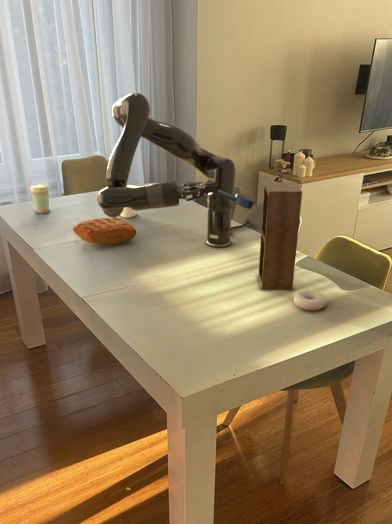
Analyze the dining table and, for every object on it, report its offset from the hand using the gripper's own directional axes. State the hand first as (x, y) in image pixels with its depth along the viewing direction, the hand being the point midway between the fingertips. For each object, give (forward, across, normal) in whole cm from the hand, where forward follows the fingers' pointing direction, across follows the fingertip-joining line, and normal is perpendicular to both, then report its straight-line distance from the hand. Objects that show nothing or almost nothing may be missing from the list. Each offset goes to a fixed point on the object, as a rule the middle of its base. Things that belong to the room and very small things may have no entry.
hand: (217, 187), depth 167 cm
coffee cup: (-83, +82, +21) cm, 118 cm away
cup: (-43, +77, +27) cm, 92 cm away
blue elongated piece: (+2, 0, +4) cm, 4 cm away
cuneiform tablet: (-47, +40, +26) cm, 67 cm away
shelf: (+15, 0, +34) cm, 38 cm away
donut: (+24, -18, +36) cm, 46 cm away
